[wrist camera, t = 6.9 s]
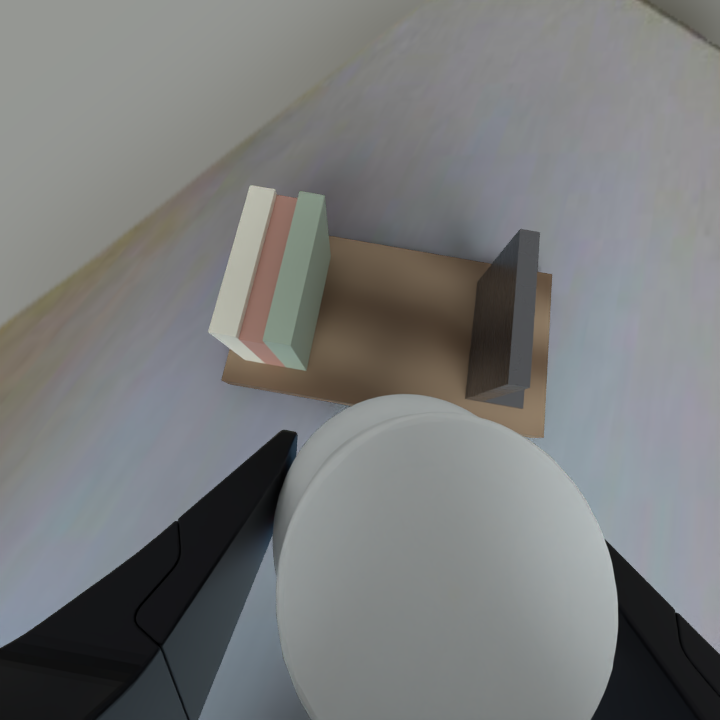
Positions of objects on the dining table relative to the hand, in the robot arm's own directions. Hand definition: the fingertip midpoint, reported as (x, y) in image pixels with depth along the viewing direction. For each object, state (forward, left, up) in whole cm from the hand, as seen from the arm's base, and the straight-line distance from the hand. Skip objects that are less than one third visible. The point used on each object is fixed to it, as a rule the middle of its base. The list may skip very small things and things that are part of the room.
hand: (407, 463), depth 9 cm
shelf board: (+4, +7, -13) cm, 15 cm away
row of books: (-2, +10, -12) cm, 16 cm away
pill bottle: (-1, -1, -7) cm, 7 cm away
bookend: (+10, +4, -12) cm, 16 cm away
